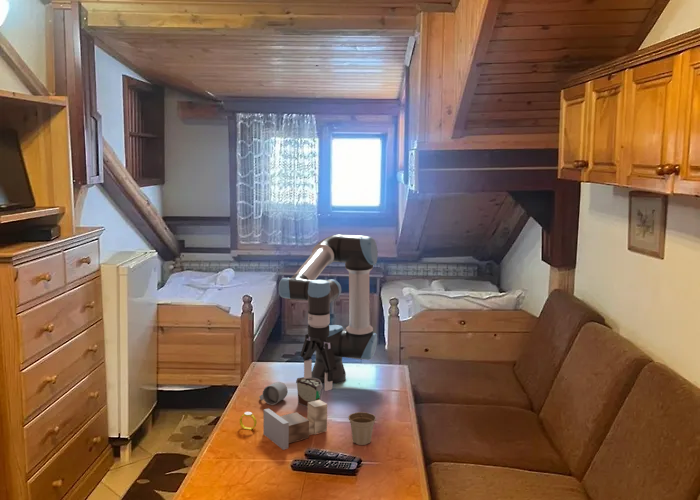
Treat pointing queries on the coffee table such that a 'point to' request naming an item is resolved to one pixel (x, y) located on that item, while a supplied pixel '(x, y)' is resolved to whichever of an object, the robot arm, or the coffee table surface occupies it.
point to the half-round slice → (308, 390)
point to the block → (297, 427)
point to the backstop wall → (276, 429)
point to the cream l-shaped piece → (317, 417)
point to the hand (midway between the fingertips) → (317, 383)
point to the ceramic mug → (274, 393)
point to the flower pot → (361, 427)
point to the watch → (248, 416)
